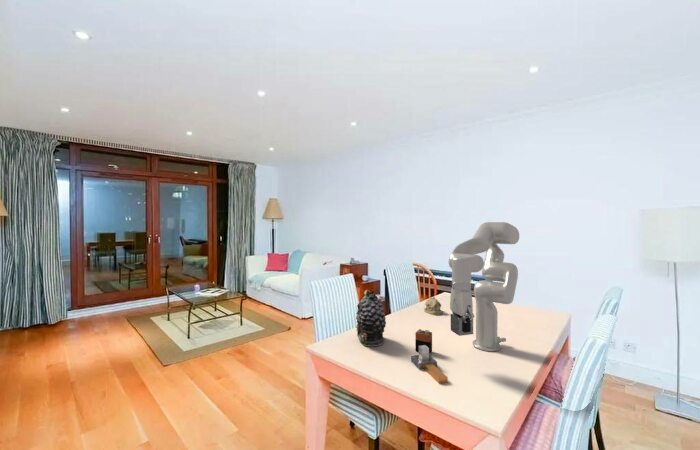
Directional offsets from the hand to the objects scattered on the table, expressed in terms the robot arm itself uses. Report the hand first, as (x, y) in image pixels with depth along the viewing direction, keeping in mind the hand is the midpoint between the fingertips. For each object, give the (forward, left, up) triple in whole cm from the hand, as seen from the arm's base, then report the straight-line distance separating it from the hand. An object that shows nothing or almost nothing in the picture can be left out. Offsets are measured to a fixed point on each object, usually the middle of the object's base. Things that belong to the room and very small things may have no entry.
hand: (461, 328), depth 134 cm
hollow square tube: (0, 0, -2) cm, 2 cm away
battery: (+8, -18, -16) cm, 25 cm away
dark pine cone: (+28, -37, -16) cm, 49 cm away
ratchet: (+14, 0, -16) cm, 22 cm away
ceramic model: (-27, -74, -16) cm, 80 cm away
